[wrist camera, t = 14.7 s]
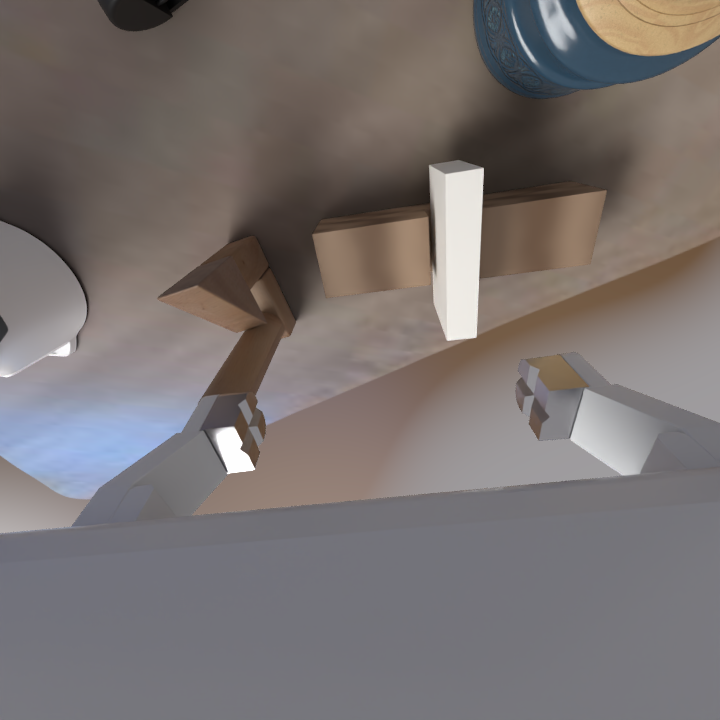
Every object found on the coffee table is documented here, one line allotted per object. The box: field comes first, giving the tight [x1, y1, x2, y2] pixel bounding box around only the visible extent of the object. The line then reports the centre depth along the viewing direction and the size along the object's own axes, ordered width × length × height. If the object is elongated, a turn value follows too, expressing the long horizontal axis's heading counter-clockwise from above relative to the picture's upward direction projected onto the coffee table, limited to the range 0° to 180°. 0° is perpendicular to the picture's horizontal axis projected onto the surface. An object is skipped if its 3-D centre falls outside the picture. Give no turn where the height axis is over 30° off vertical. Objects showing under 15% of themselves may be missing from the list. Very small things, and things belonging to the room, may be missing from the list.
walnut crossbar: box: [312, 181, 607, 298], centre depth 32 cm, size 24×6×6 cm, turn 98°
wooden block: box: [157, 236, 296, 404], centre depth 31 cm, size 4×11×18 cm, turn 18°
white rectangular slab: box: [429, 160, 484, 341], centre depth 29 cm, size 13×2×8 cm, turn 8°
